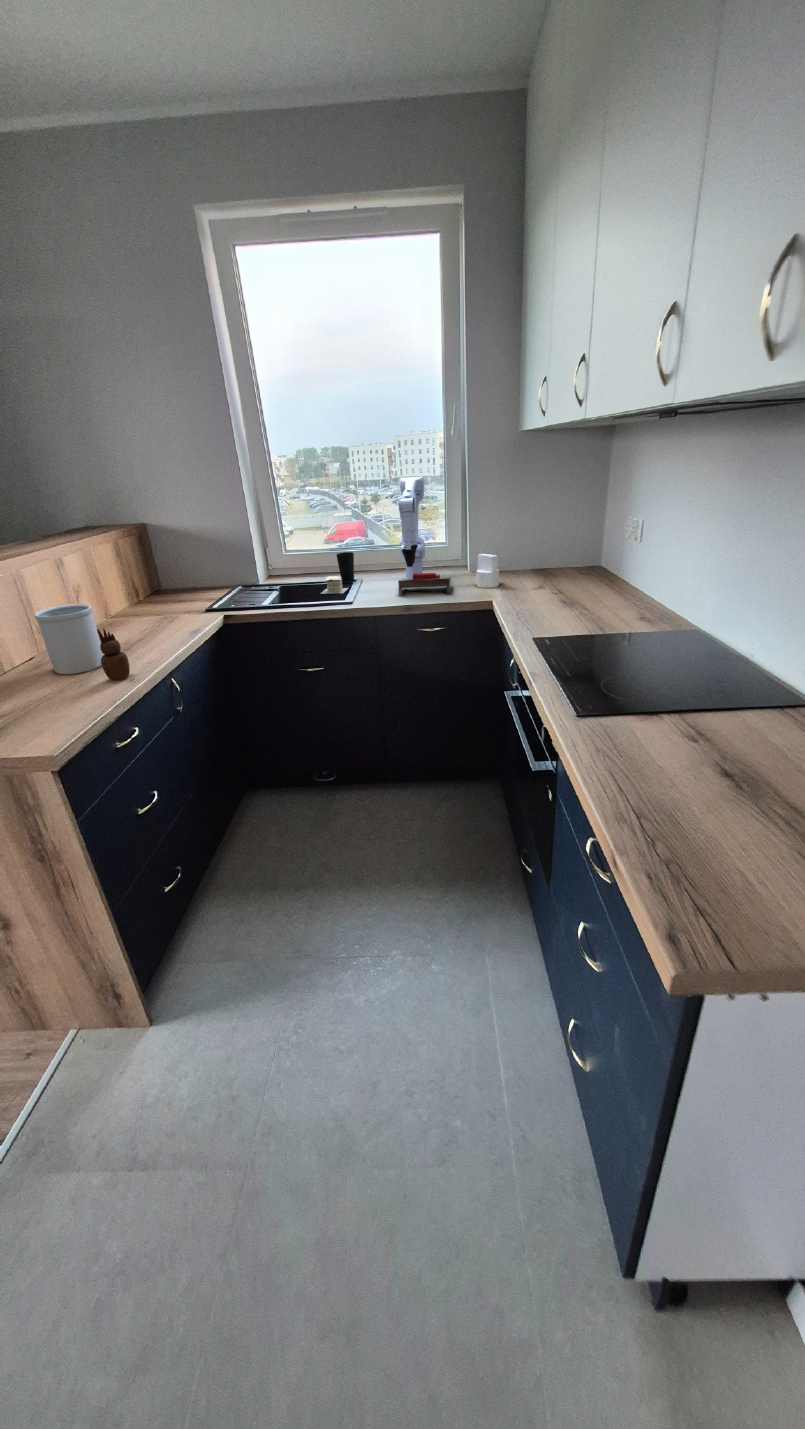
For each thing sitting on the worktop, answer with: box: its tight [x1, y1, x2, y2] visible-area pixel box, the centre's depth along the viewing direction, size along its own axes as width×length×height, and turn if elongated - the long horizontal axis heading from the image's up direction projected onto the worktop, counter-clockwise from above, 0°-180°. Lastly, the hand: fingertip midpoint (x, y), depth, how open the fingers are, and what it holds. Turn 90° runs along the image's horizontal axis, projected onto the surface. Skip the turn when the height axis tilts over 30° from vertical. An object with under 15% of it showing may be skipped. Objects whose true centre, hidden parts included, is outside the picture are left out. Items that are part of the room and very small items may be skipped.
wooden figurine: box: [96, 628, 131, 681], centre depth 158 cm, size 7×6×15 cm
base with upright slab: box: [476, 553, 500, 589], centre depth 231 cm, size 9×9×12 cm
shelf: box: [397, 576, 452, 597], centre depth 230 cm, size 12×20×6 cm, turn 84°
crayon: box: [413, 572, 441, 580], centre depth 229 cm, size 3×11×3 cm, turn 84°
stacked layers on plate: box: [320, 575, 349, 595], centre depth 241 cm, size 10×9×6 cm
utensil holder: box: [33, 603, 104, 675], centre depth 170 cm, size 15×15×18 cm
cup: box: [336, 551, 355, 583], centre depth 256 cm, size 8×8×12 cm
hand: (410, 565), depth 234 cm, fingers open, 7 cm apart
